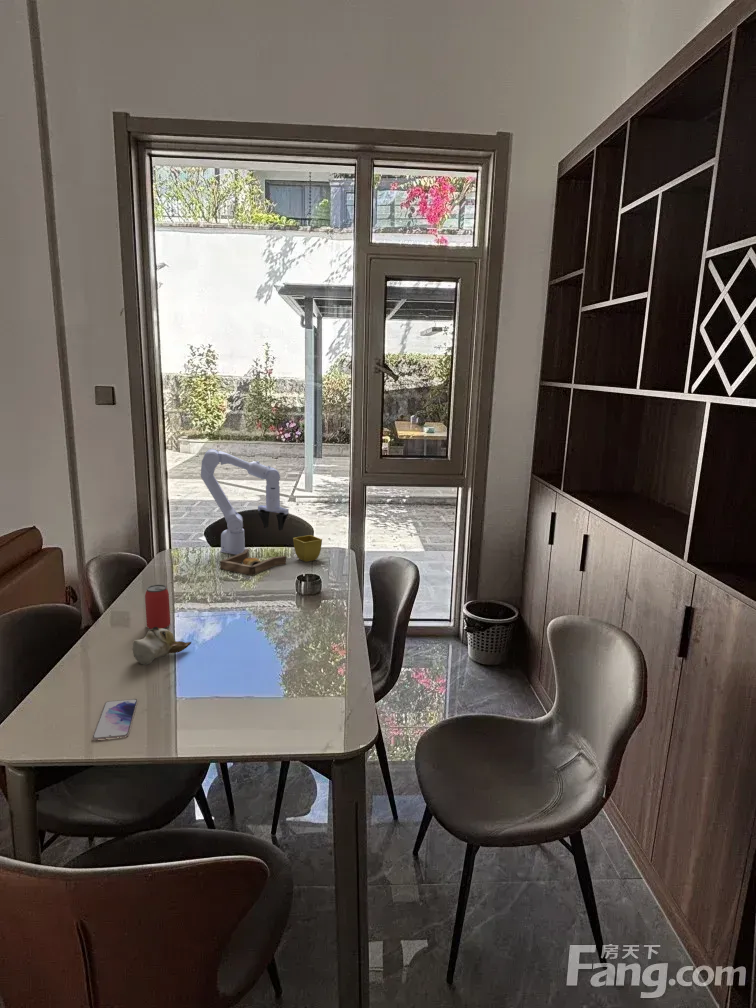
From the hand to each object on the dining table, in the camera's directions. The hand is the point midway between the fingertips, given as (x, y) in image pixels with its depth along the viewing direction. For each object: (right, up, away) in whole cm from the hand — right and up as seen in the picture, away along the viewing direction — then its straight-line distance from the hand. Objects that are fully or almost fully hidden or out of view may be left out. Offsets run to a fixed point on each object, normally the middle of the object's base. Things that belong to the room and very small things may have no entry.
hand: (273, 528), depth 256 cm
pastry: (-5, -14, -20) cm, 25 cm away
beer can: (-21, -26, -77) cm, 84 cm away
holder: (-5, -14, -19) cm, 24 cm away
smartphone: (-12, -37, -125) cm, 131 cm away
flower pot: (+16, -12, -10) cm, 23 cm away
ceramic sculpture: (-14, -30, -96) cm, 101 cm away
